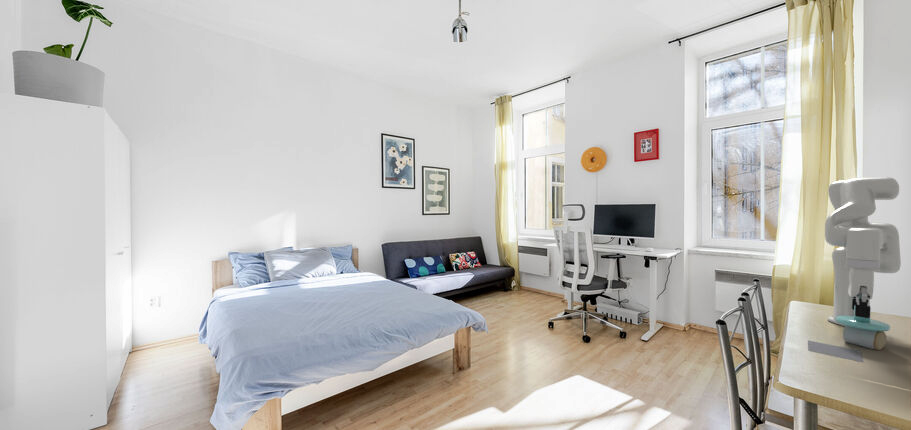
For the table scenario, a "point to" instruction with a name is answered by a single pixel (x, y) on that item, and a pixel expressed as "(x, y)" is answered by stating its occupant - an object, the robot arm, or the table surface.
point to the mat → (835, 351)
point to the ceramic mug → (864, 337)
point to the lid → (863, 323)
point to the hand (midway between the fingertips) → (860, 313)
